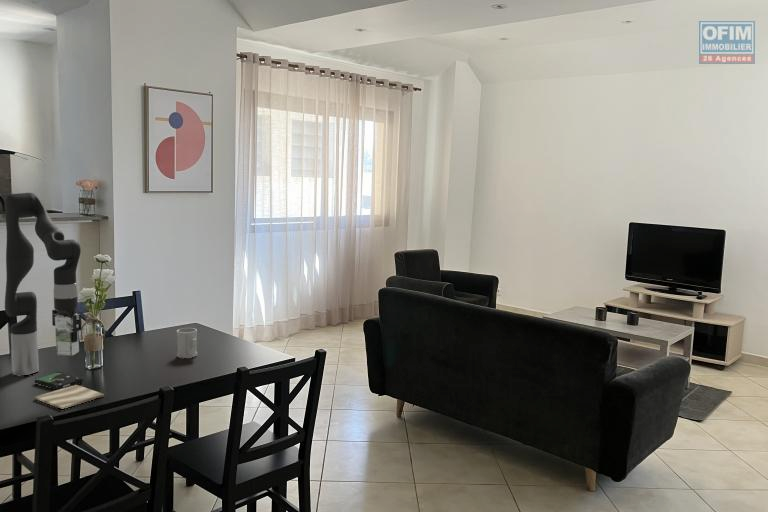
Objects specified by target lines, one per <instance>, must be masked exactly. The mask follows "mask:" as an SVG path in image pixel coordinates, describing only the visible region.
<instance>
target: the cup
mask: <svg viewBox="0 0 768 512" xmlns="http://www.w3.org/2000/svg"><path fill="white" fill-rule="evenodd" d="M176 336H177V337H176V338H177V352H176V357H178V358H179V359H184V358H187V359H193V358H195V356H196V357H197V356H198V351H197V348H198V339H197V336H198V329H197V328H196V327H195V328H194V327H183V328H179V329H177V330H176ZM192 357H193V358H192Z"/></svg>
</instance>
